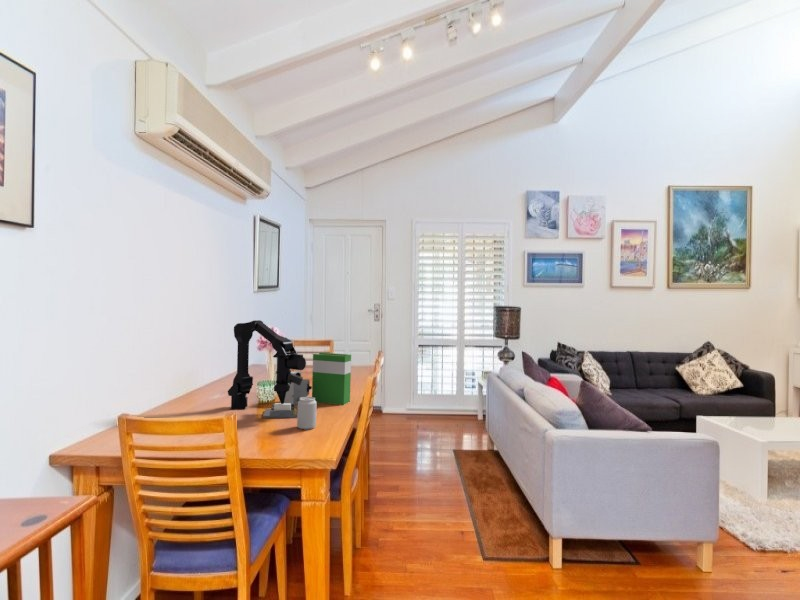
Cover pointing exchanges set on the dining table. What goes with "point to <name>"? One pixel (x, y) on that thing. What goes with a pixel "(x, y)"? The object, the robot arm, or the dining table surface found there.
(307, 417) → the can
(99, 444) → the dining table surface
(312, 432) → the dining table surface
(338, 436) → the dining table surface
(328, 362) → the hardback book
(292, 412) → the rack
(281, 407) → the white rectangular prism
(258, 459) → the dining table surface
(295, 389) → the circuit breaker
